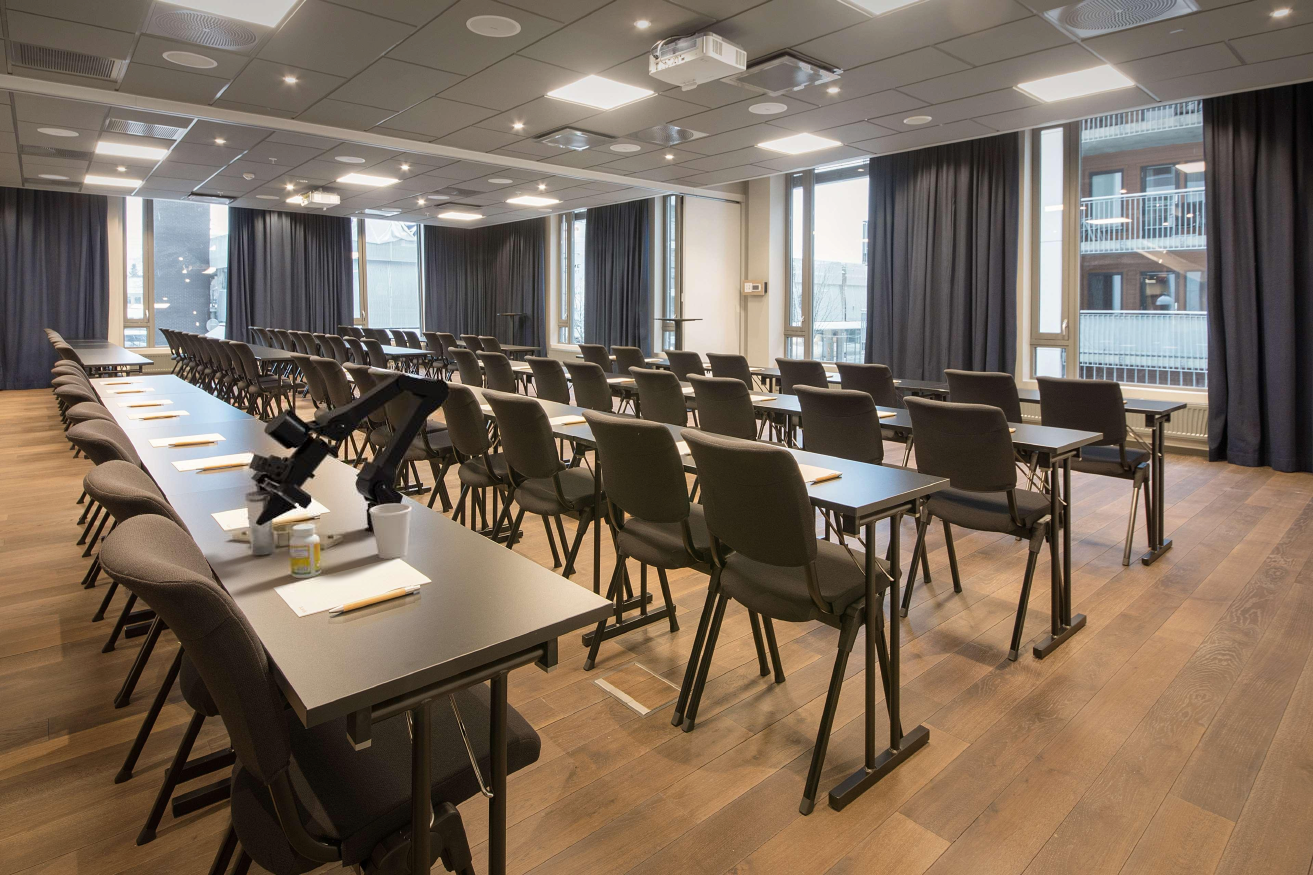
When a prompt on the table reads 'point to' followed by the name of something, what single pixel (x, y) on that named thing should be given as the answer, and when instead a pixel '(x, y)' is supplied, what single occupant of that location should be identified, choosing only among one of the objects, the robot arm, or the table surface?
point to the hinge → (290, 536)
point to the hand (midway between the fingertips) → (253, 522)
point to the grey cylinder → (258, 534)
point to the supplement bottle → (305, 551)
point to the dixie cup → (391, 529)
